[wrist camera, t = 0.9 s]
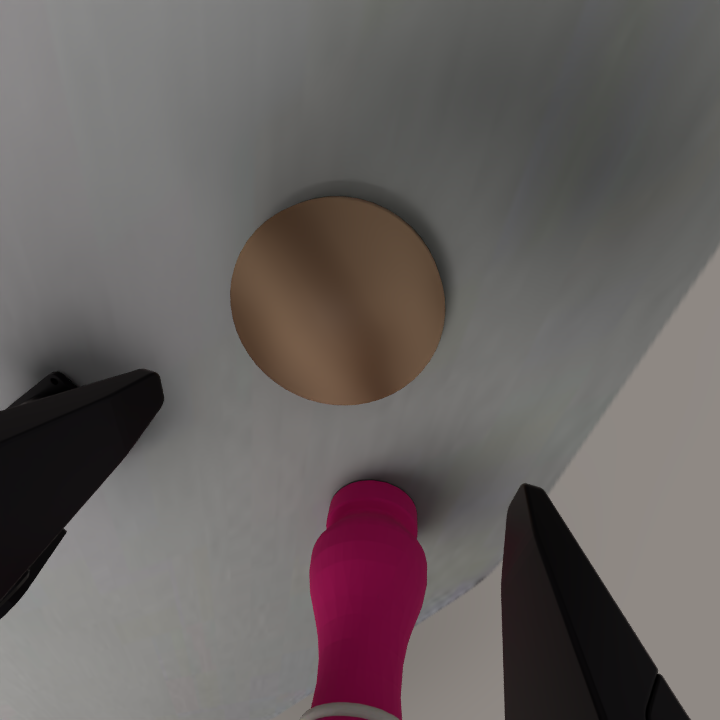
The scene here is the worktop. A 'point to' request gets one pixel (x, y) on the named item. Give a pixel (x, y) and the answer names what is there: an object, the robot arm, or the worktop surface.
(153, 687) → the worktop surface
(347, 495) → the pepper mill
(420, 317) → the walnut base
